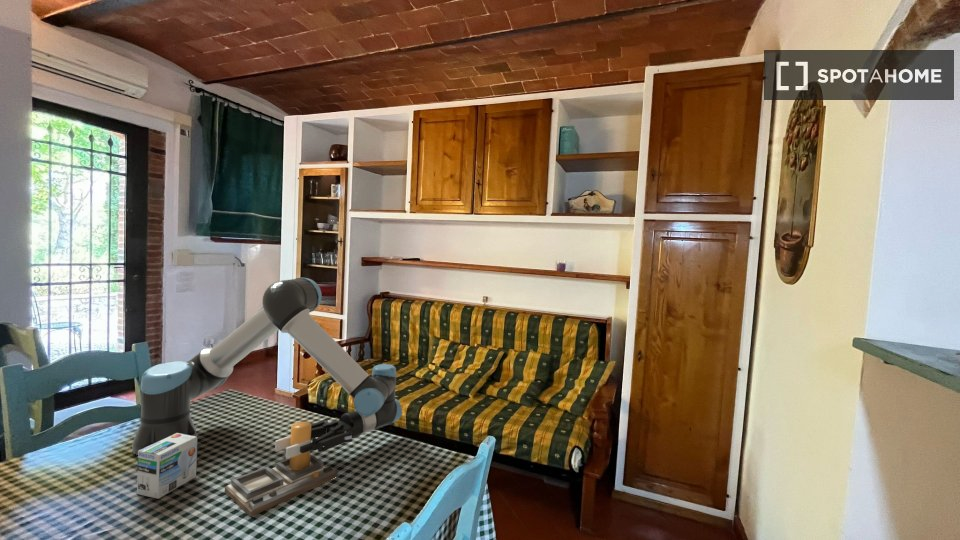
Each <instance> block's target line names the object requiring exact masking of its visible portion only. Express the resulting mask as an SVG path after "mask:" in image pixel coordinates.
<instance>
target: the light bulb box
mask: <svg viewBox="0 0 960 540" xmlns="http://www.w3.org/2000/svg"><path fill="white" fill-rule="evenodd" d="M197 457H198V436H197V435H196V436H190V435H185V434H180V433H176V434H174V435H171V436H169V437H167V438H165V439H163V440H161V441H159V442H156V443H154V444H152V445H150V446H148V447H145V448H143V449H141V450H139V451H138V456H137V474H136V476H137V477H136V479H137V480H136V494H137V495H141V496H145V497H149V498H154V499H157V500H158V499H161V498H162V497H164V496H165V495H167V494H169V493H171V492H173V491H174V490H176V489H177V488H179V487H181V486H183V485H184V484H186V483H188V482H189V481H191V480H193V479H194V478H196V477H197V462H198V461H197Z"/></svg>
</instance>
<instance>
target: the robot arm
mask: <svg viewBox="0 0 960 540" xmlns="http://www.w3.org/2000/svg"><path fill="white" fill-rule="evenodd" d="M322 295H323V294H322V291H321V288H320V286H319V284H318V283H317V282H315V281H314V280H313V279H311V278H307V277H296V278H293V279H284V280H278V281H276V282H272V284H271V285H269V286H268V287H267V288H266V290H265V291H264V293H263V296H262V308H260V309H259V310H258V311H257V312H255V313H254V314H253V315H252V316H250V317H249V318H248V319H246V321H245V322H243V323H241V325H240V326H238V327H237V328H235V330H233V331H232V332H231V333H230V334H228V335H227V336H226V337H225V338H223V339H222V340H221V341H220V342H218V343H217V344H216V345H215V346H214V347H205V348H204V349H202V350H201V351H200V352H198V354H196V355H195V356H194V357H192V358H191V359H189V360H188V361H180V360H179V361H178V360H177V361H174V360H173V361H168V362H166V363H165V362H163V363H159V364H156V365H153V366H150V367H149V368H148V369H146V370H145V371H144V372H143V373H142V376H141V383H140V385H139V386H140V388H139V389H140V424H139V425H138V428H137V431H136V434H135V435H134V438H133V441H132V445H131V447H132V448H131V450H132V451H133V452H132V451H131V452H132V454H134V455H135V454H136V455H135V456H137V455H138V451H139V450H141V449H143V448H145V447H148V446H150V445H152V444H154V443H156V442H159V441H161V440H163V439H165V438H167V437H169V436H171V435H174V434H176V433H180V434H185V435H190V436H196V437H197V430H196V427H195V424H194V422H193V419H192V417H191V401H192V400H194V399H196V398H198V397H200V396H203V395H204V394H206V393H208V392H211V391H213V390H216V389H218V388H219V387H221V386H222V385H223V384H224V383H225V382H226V381H227V379H228V378H229V377H230V375H231V374H232V373H233V371H234V366H235V365H236V364H238V363H239V362H240V361H242V360H243V359H244V358H245V357H247V356H248V355H249V354H250V353H252V352H253V351H254V350H255V349H257V348H258V347H259V346H261V345H262V344H263V343H264V342H265V341H267V340H268V339H269V338H271V336H273V335H274V334H275V333H276V332H278V331H280V332H281V333H283V334H284V333H285V334H289V336H290V337H291V338H293V340H295V342H296V344H298V345H300V347H301V348H303V349H304V351H305V352H306V353H307V354H308V355H309V356H310V357H312V359H313V360H314V361H316V363H317V364H318V365H319V366H321V368H322V369H323V370H324V371H326V373H327V374H328V375H329V376H331V378H332V379H333V380H334V381H335V382H336V383H337V384H338V385H340V387H342V388H343V389H344V391H346V393H347V394H348V395H349V396H350V397H351V398H352V399H353V406H354V410H351V411H348V412H346V413H343V414H342V415H341V416H340V417H339V419H338V420H332V421H331V422H330V421H328V420H329V419H328V418H324V419H322V420H320V421H317V422H314V423H311V440H310V439H309V440H307V441H304V442H301V443H298V444H295V445H292V446H290V443H291V435H287V436H285V437H281V438H279V439H277V440H275V441H274V451H275V452H279V451H281V450H285V459H289V458H291V457H294V456H297V455H299V454H302V453H305V452H307V451H310V452H311V451H317V452H318V453H322V452H325V451H327V450H330V449H332V448H335V447H338V446H340V445H342V444H346V443H350V442H352V440H353V439H354V438H357V437H359V436H361V435H366V434H367V433H370V432H372V431H375V430H378V429H381V428H383V427H386V426H390V425H392V424H393V423H395V422H397V421H398V420H400V419H401V417H402V414H403V408H402V405H401V402H400V401H399V399H397V398H396V385H397V368H396V366H394V365H392V364H389V363H388V364H387V363H384V364H377V365H374V366H373V367H372V371H371V376H370V375H369V373H367V371H366V370H364V369H363V367H361V365H360V364H359V363H358V362H356V361H355V360H354V358H353V357H352V356H351V355H349V353H348V352H347V351H346V350H345V349H344V348H343V347H342V346H341V345H340V344H339V343H338V342H337V341H336V340H335V339H334V338H333V337H332V336H331V335H330V334H329V333H328V332H327V331H326V330H325V329H324V328H323V327H322V326H321V325H320V324H319V323H318V322H317V321H316V320H315V319H314V318H313V317H312V316H311V315H310V313H312V312H314V311H315V310H317V308H318V307H320V305H321V304H322V303H321V302H322Z"/></svg>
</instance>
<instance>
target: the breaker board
mask: <svg viewBox="0 0 960 540" xmlns="http://www.w3.org/2000/svg"><path fill="white" fill-rule="evenodd" d="M335 477H337V478H338V473H337V472H336V469H334V468H333V466H331V465H329V466H327V465H325V464H324V461H322V460H320V459H319V458H317V457H315V456H314V455H313V454H311V453H310V465H309V466H308V467H307V468H304V469H302V470H292V469H290V458H289V459H286V458H285V459H283V460H280V461H278V462H276V463H275V467H273V468H270V467H269V466H264V467H262V468H259V469H256V470H254V471H251V472H248V473H245V474H242V475H239V476H238V477H235V478H232V479H231V483H230V484H228V485H226V486H224V493H225V494H226V495H227V496H228V497H230V499H231V500H232V501H234V502H235V504H236V505H238V506H239V507H240V508H241V510H243V511H244V512H245V513H246V514H247V515H248V516H249V517H253V516H256V515H258V514H260V513H263V512H265V511H266V510H269V509H271V508H273V507H276V506H277V505H280V504H282V503H285V502H287V501H289V500H291V499H294V498H296V497H297V496H298V497H299V495H302V494H304V493H306V492H309V491H310V490H312V489H315V488H317V487H319V486H321V484H322V485H323V483H324V484H326V483H328V482H330V481H332V480H331V479H333V478H335ZM335 479H336V478H335ZM329 480H330V481H329ZM333 480H334V479H333ZM327 481H328V482H327ZM325 482H326V483H325Z"/></svg>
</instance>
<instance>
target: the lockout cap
mask: <svg viewBox="0 0 960 540" xmlns="http://www.w3.org/2000/svg"><path fill="white" fill-rule="evenodd" d="M311 424H312V422H310V421H298V422H294V423H292V424H291V426H290V436H291V443H290V446H292V445H295V444H298V443H301V442H304V441H307V440H309V439H310V440H311V441H312V439H311ZM310 454H311V450H310V451H307V452H305V453H302V454H299V455H297V456H294V457H291V458H290V469H292V470H302V469H304V468H307V467H308V466H309V465H310Z"/></svg>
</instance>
